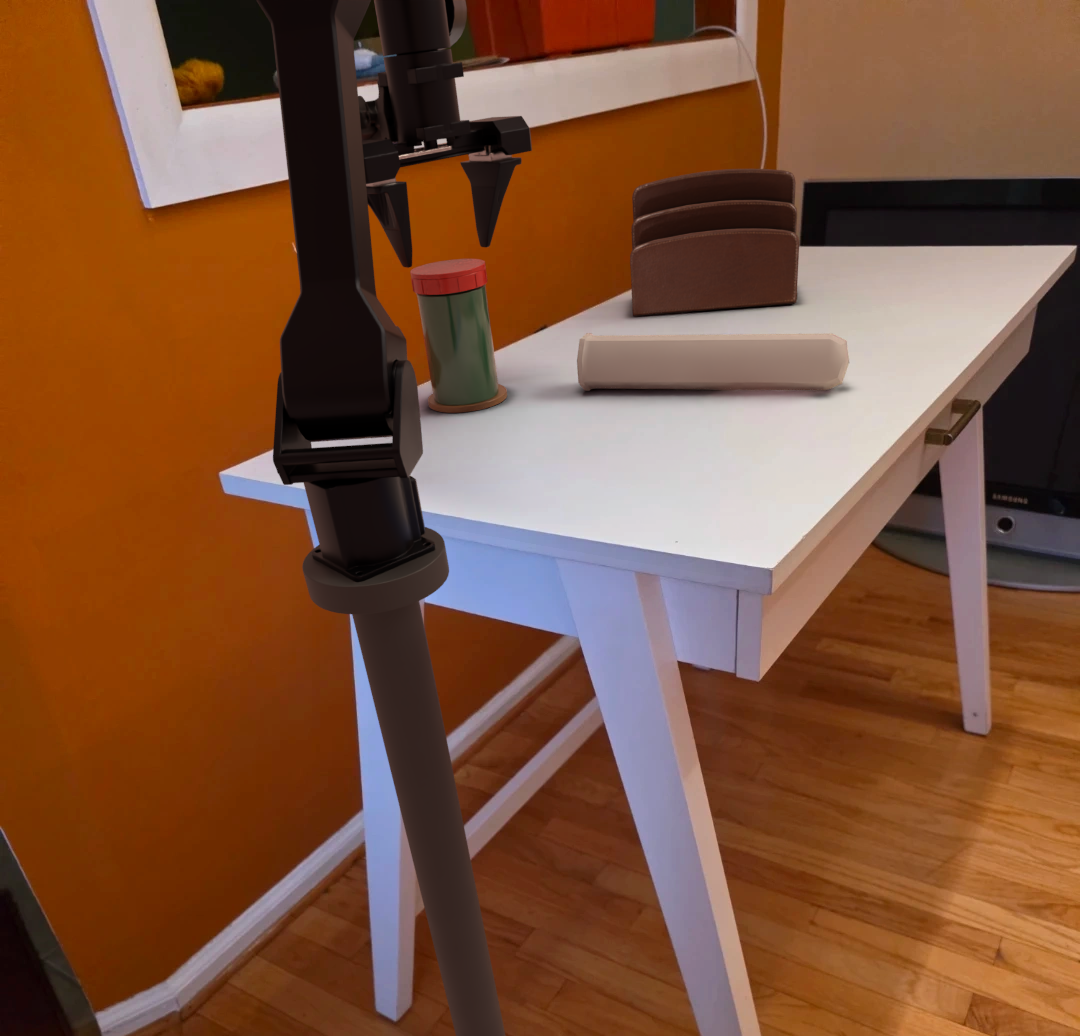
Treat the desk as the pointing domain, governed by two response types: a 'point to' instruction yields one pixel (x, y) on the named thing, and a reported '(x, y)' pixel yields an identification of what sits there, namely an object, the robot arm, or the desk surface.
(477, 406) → the disc
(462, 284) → the lid
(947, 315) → the desk surface
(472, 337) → the jar
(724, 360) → the tube
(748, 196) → the letter holder
